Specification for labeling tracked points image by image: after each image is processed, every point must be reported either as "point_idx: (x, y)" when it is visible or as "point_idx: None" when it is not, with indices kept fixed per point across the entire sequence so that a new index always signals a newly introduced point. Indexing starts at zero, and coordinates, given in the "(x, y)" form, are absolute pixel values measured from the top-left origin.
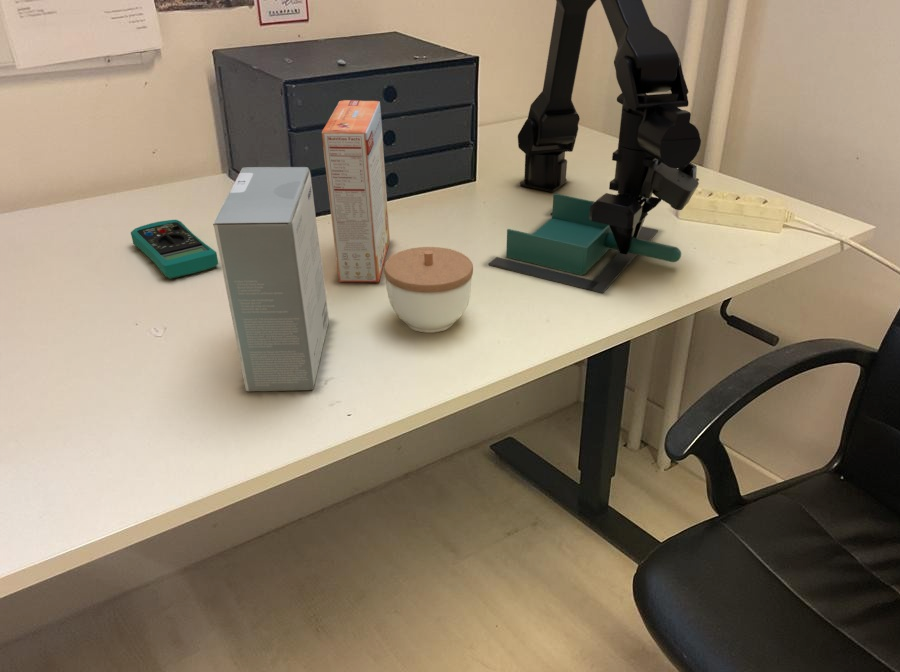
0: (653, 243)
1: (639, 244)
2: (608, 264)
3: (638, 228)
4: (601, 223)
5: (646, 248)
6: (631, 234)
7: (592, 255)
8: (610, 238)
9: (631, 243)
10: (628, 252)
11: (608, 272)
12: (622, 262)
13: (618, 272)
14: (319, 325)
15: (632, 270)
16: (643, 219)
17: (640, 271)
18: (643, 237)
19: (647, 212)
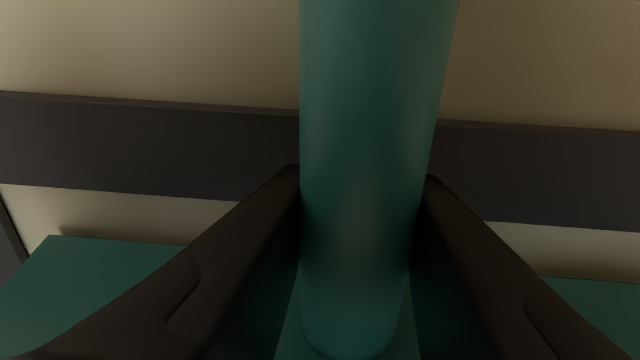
0: (395, 29)
1: (420, 149)
2: (514, 219)
3: (263, 255)
4: None
5: (444, 69)
6: (565, 301)
7: (617, 342)
8: (388, 330)
9: (414, 207)
10: (286, 162)
11: (634, 195)
12: (455, 159)
13: (623, 145)
14: None
15: (524, 72)
16: (190, 303)
17: (526, 14)
18: (20, 137)
19: (57, 340)
